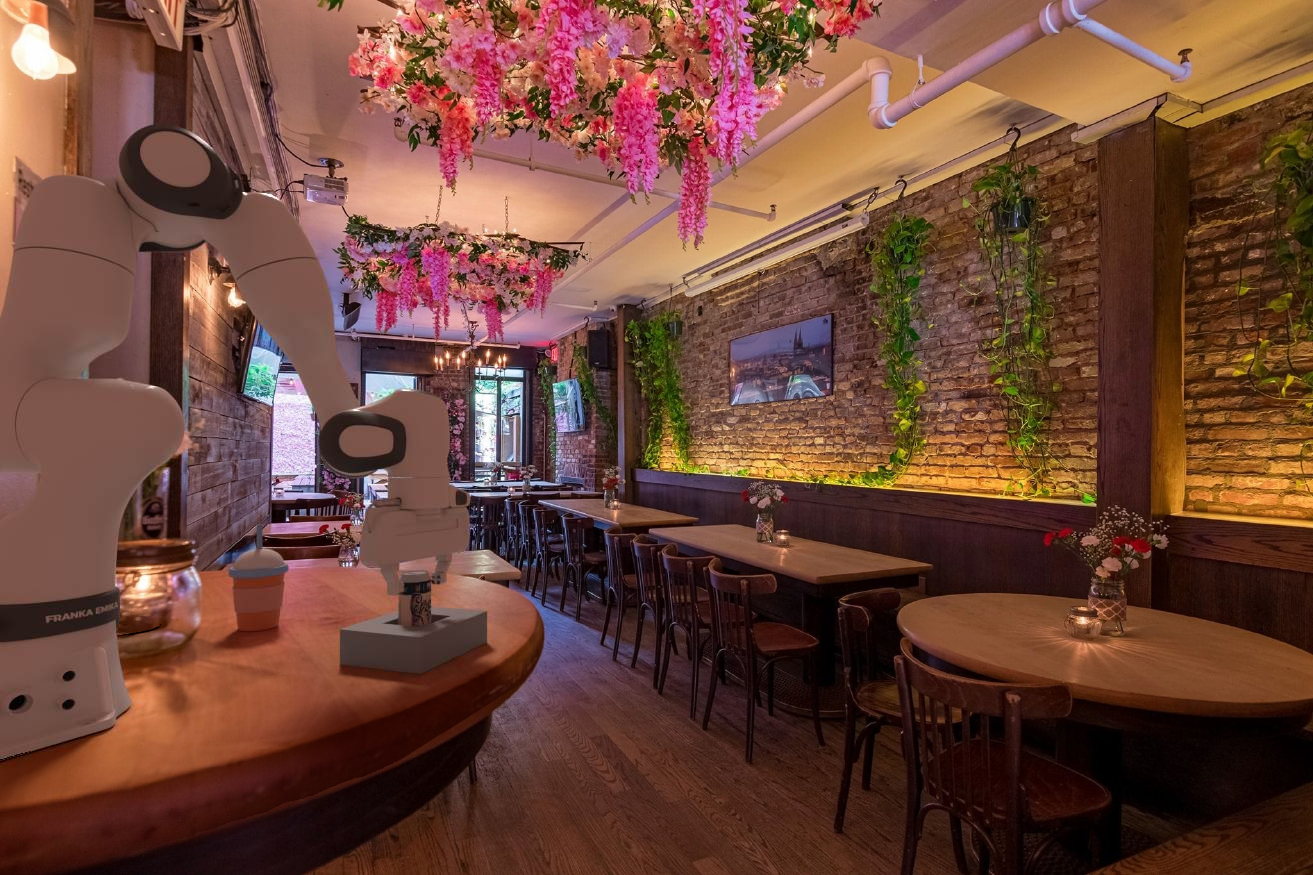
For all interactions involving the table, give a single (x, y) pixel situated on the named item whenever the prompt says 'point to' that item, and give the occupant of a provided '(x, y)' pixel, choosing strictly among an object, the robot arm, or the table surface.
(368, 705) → the table surface
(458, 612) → the holder block
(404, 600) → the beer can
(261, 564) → the cup with straw
